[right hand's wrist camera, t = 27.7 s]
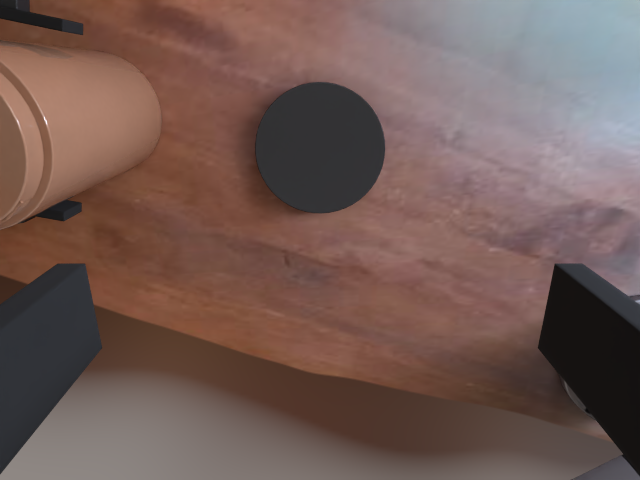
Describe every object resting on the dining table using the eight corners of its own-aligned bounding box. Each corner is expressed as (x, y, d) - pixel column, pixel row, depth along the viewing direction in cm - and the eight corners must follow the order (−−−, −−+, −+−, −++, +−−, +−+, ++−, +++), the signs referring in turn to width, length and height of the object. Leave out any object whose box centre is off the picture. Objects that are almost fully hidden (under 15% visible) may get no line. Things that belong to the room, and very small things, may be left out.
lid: (402, 110, 39) (406, 112, 37) (354, 224, 43) (355, 230, 41) (281, 61, 38) (280, 60, 36) (241, 183, 41) (238, 187, 40)
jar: (20, 110, 39) (-223, 137, 22) (91, 22, 37) (-118, -28, 19) (113, 194, 42) (-35, 278, 24) (186, 116, 39) (78, 148, 22)
